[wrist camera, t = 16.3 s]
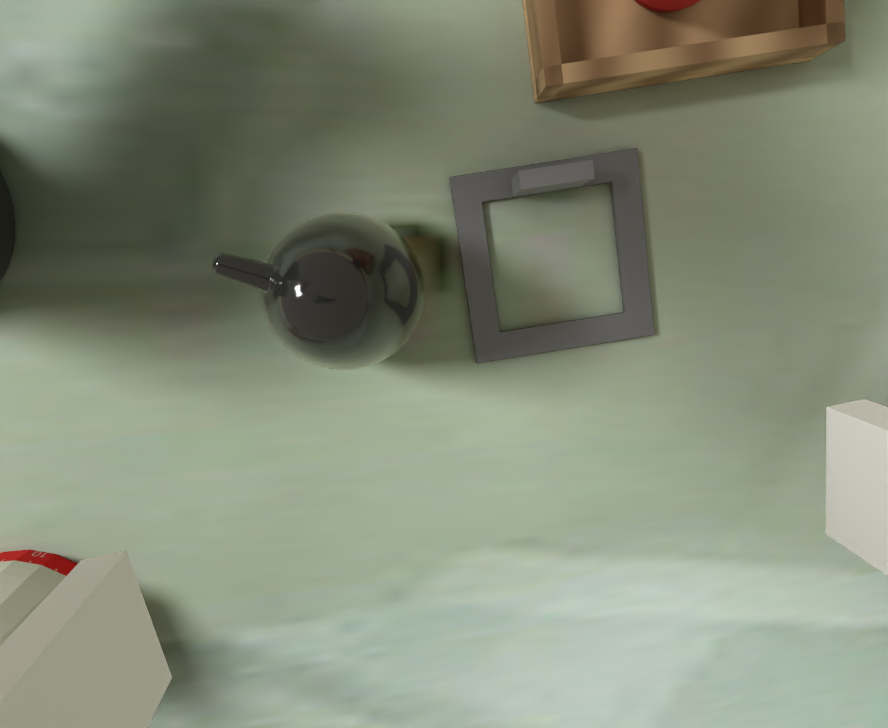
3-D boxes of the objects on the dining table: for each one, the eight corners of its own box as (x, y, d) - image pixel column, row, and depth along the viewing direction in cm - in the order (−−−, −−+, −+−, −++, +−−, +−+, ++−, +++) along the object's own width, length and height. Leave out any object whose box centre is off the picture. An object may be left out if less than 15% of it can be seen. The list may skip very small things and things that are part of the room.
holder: (476, 362, 41) (481, 369, 37) (449, 178, 39) (452, 168, 35) (651, 333, 41) (672, 339, 38) (634, 149, 39) (655, 137, 35)
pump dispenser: (305, 199, 39) (231, 147, 24) (442, 246, 39) (455, 226, 24) (266, 333, 40) (173, 366, 25) (400, 376, 41) (388, 432, 26)
